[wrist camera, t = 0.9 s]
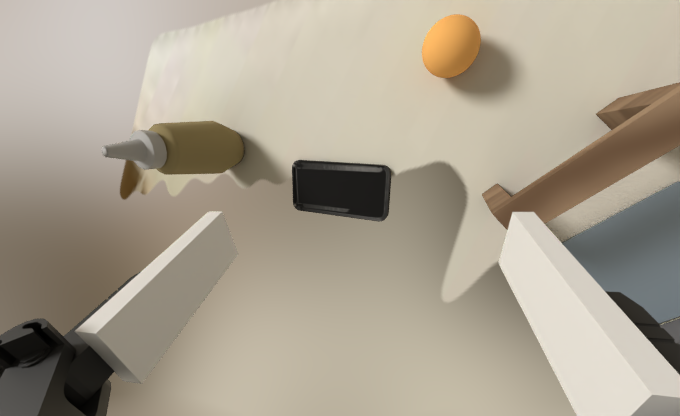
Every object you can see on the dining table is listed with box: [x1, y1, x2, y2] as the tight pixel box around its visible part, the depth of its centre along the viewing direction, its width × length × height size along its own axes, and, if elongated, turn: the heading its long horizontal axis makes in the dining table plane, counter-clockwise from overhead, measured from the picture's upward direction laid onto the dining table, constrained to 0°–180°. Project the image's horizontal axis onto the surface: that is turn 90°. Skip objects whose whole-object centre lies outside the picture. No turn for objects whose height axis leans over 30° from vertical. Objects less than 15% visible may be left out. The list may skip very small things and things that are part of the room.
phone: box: [292, 160, 391, 221], centre depth 38 cm, size 8×1×15 cm
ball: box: [422, 15, 481, 78], centre depth 27 cm, size 6×6×6 cm
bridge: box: [482, 83, 680, 230], centre depth 24 cm, size 3×14×9 cm, turn 134°
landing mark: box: [562, 182, 680, 323], centre depth 27 cm, size 12×12×1 cm
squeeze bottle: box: [102, 121, 244, 174], centre depth 36 cm, size 8×8×18 cm
